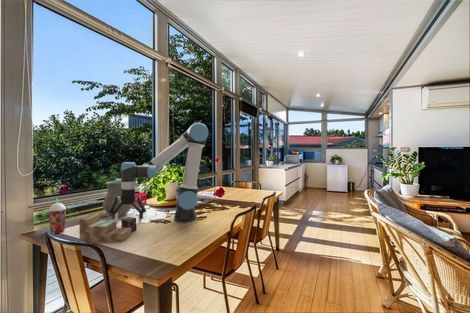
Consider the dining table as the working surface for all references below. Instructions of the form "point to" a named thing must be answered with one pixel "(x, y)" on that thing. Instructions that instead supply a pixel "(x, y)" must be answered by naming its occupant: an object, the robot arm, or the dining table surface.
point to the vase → (109, 200)
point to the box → (129, 223)
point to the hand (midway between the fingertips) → (128, 224)
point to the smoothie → (57, 217)
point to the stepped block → (101, 230)
